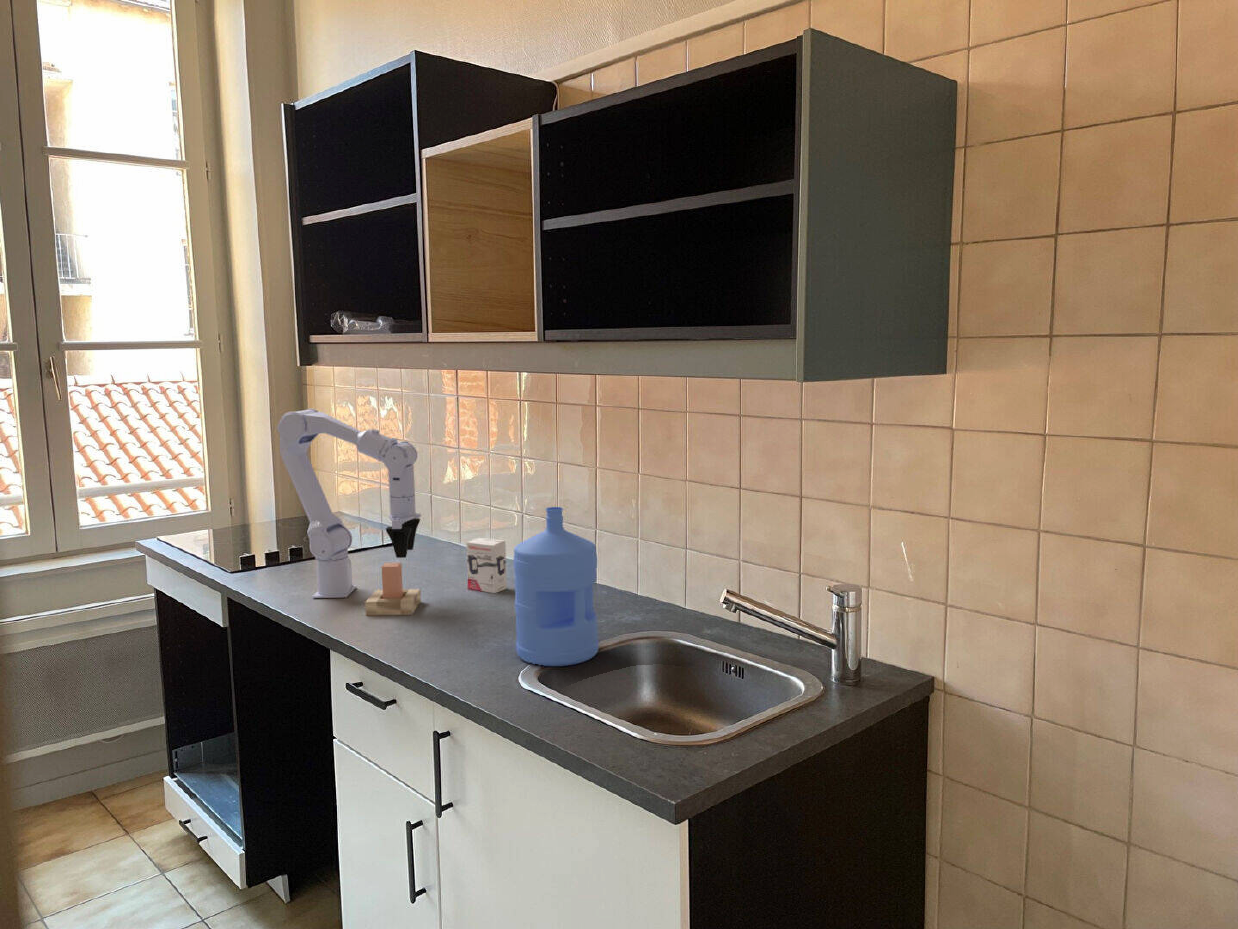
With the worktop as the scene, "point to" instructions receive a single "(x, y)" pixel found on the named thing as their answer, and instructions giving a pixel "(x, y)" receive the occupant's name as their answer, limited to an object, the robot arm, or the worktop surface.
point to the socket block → (393, 603)
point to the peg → (392, 580)
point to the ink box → (486, 565)
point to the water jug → (555, 596)
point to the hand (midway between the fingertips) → (404, 553)
